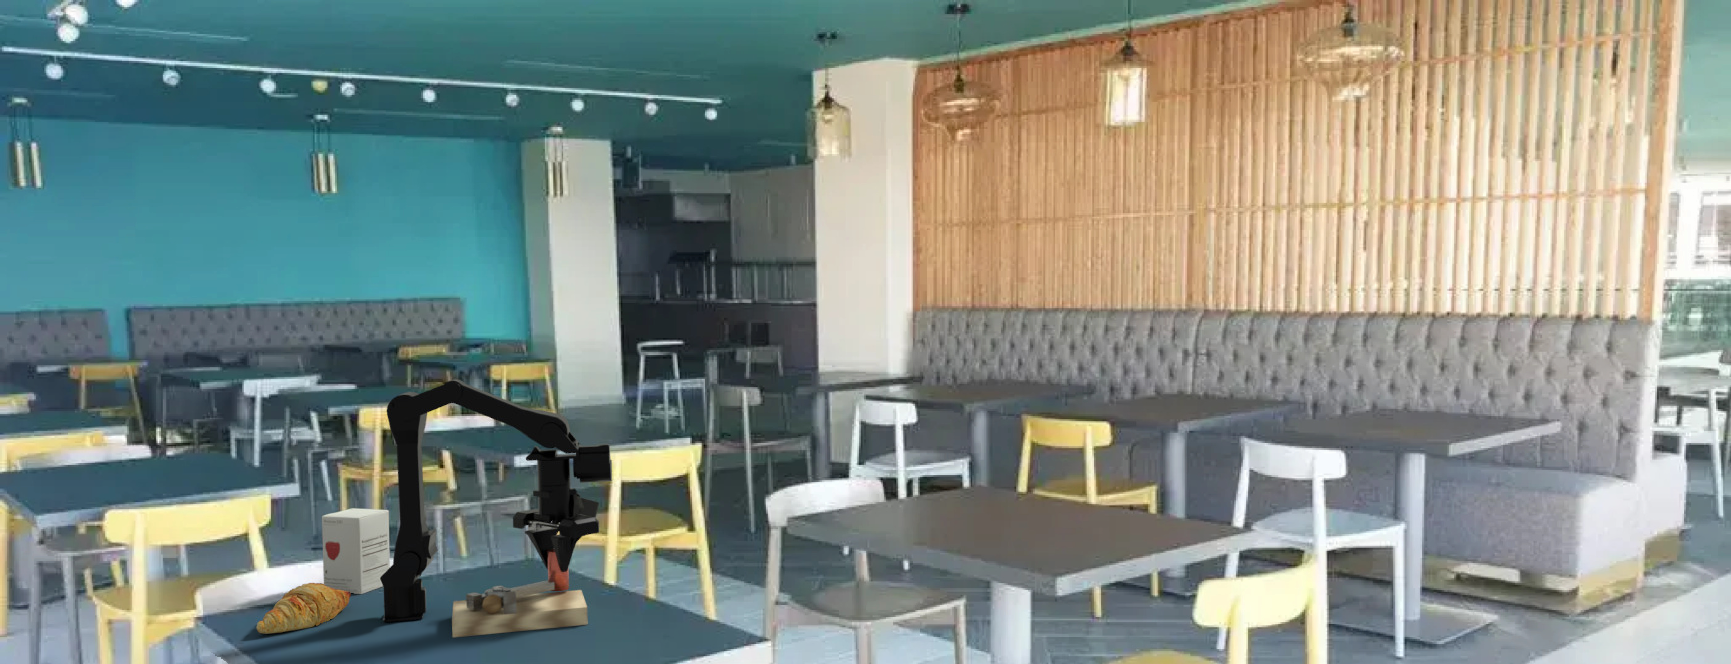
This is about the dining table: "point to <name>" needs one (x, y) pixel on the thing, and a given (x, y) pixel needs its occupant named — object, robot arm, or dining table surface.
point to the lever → (554, 583)
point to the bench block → (521, 614)
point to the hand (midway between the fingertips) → (556, 569)
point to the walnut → (492, 603)
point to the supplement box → (355, 549)
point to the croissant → (304, 608)
